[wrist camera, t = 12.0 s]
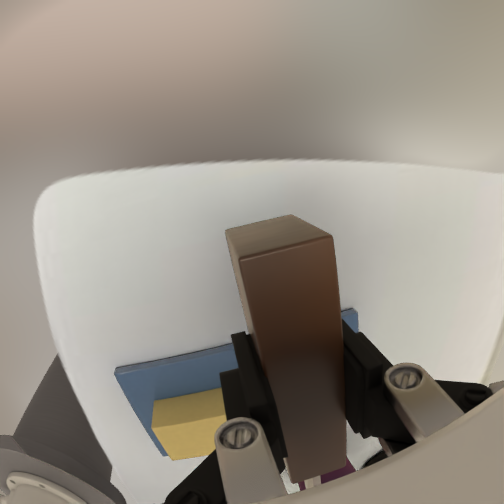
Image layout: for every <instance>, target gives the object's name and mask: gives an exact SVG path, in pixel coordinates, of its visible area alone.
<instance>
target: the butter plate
mask: <svg viewBox="0 0 504 504" xmlns="http://www.w3.org/2000/svg"><path fill="white" fill-rule="evenodd" d="M341 318H342V319H343V320H344V321H345V322H346V323H347V324H348V325H349V326H350V328H351V329H352V330H353V331H354V332H355V333H357V332H359V331H358V312H357V311H356V310H354V309H349V310H346V311H343V312H341ZM236 368H239V367H238V363H237V359H236V355H235V351H234V346H233V344H229V345H225V346H220V347H216V348H212V349H208V350H204V351H199V352H195V353H190V354H186V355H181V356H176V357H172V358H167V359H162V360H157V361H152V362H147V363H142V364H136V365H131V366H125V367H119V368H116V369H115V372H114V375H115V377H116V379H117V381H118V383H119V385H120V386H121V388H122V390H123V392H124V394H125V396H126V397H127V399H128V401H129V403H130V404H131V406H132V408H133V410H134V411H135V413H136V415H137V416H138V418H139V420H140V421H141V423H142V425H143V426H144V428H145V430H146V431H147V433H148V434H149V436H150V438H151V439H152V441H153V442H154V444H155V445H156V447H157V448H158V450H159V451H160V453H161V454H162V456H169V455H168V454H167V452H166V451H165V449H164V448H163V446H162V445H161V443H160V441H159V440H158V438H157V437H156V435H155V433H154V432H153V430H152V428H151V427H152V416H153V406H154V401H155V400H161V399H167V398H173V397H178V396H183V395H188V394H193V393H198V392H203V391H207V390H212V389H216V388H221V382H220V375H219V373H220V372H224V371H228V370H232V369H236Z"/></svg>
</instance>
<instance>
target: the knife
mask: <svg viewBox="0 0 504 504" xmlns="http://www.w3.org/2000/svg"><path fill="white" fill-rule="evenodd" d="M225 235H226V239H227V243H228V248H229V252H230V256H231V261H232V265H233V269H234V273H235V278H236V282H237V286H238V290H239V294H240V299H241V303H242V307H243V311H244V315H245V319H246V323H247V327H248V331H249V334H250V335H251V338H252V341H253V344H254V347H255V350H256V353H257V356H258V358H259V361H260V364H261V367H262V370H263V373H264V376H265V377H266V378H267V379H268V382H269V384H270V387H271V390H272V393H273V396H274V399H275V402H276V406H277V410H278V414H279V418H280V423H281V427H282V431H283V436H284V440H285V444H286V448H287V453H288V457H286V458H283V459H284V462H285V465H286V468H287V471H288V474H289V477H290V480H291V483H293V484H294V483H298V482H301V481H304V482H305V487H306V489H309V488H312V487H315V486H318V485H321V476H320V475H323V474H326V473H329V472H331V471H334V470H337V469H340V468H342V467H345V466H346V406H345V376H344V356H343V354H344V346H343V331H342V318H341V306H340V295H339V285H338V276H337V267H336V258H335V250H334V242H333V237H332V235H330V234H328V233H327V232H325V231H323V230H321V229H319V228H317V227H315V226H313V225H311V224H309V223H307V222H306V221H304V220H302V219H300V218H298V217H296V216H294V215H286V216H282V217H277V218H273V219H269V220H264V221H260V222H256V223H251V224H247V225H243V226H239V227H234V228H230V229H227V230H225Z"/></svg>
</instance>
